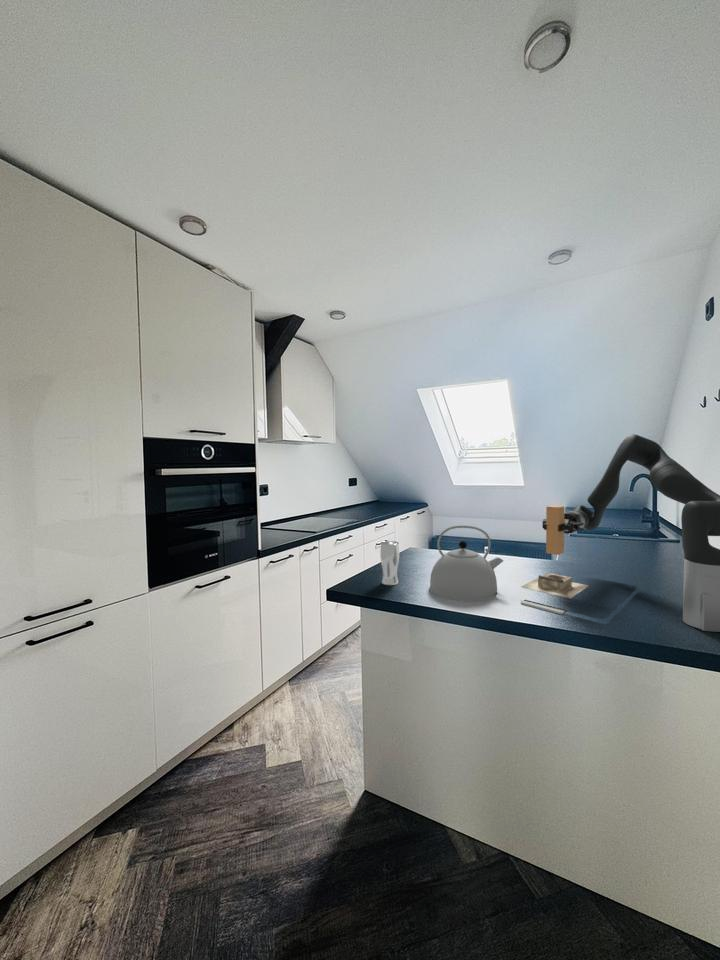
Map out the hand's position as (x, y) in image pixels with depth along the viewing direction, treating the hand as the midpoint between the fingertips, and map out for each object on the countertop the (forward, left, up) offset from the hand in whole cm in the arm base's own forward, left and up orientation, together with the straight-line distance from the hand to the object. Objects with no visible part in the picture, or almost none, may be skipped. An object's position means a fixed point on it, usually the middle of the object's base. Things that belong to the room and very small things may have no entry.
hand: (552, 527), depth 129 cm
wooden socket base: (+3, -2, -22) cm, 22 cm away
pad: (-13, +4, -22) cm, 26 cm away
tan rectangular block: (+2, -2, -9) cm, 9 cm away
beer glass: (-1, +55, -22) cm, 60 cm away
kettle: (-3, +28, -22) cm, 36 cm away
